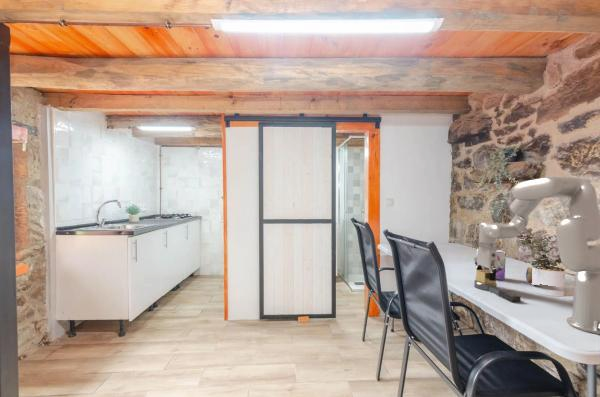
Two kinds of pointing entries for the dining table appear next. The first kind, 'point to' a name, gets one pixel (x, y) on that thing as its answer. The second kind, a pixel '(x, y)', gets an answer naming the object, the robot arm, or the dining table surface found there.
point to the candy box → (501, 262)
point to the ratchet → (498, 291)
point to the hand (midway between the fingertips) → (485, 277)
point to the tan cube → (484, 276)
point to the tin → (529, 275)
